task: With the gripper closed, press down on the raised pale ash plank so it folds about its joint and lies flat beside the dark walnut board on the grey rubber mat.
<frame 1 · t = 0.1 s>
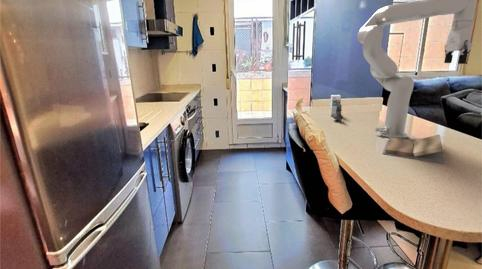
hand: (454, 63, 136), 37 cm above the breakfast bar, tool pointing down, fingers open, 9 cm apart
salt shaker: (337, 121, 179), on the breakfast bar
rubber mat: (412, 150, 125), on the breakfast bar
walnut board: (399, 148, 128), resting on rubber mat
syrup box: (334, 116, 195), on the breakfast bar
ash plank: (427, 145, 121), point 3 cm above the breakfast bar, hinge at 25.0°
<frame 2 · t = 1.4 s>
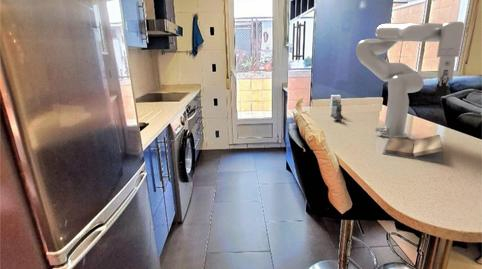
hand: (440, 94, 123), 24 cm above the breakfast bar, tool pointing down, fingers open, 9 cm apart
nothing on the breakfast bar moved.
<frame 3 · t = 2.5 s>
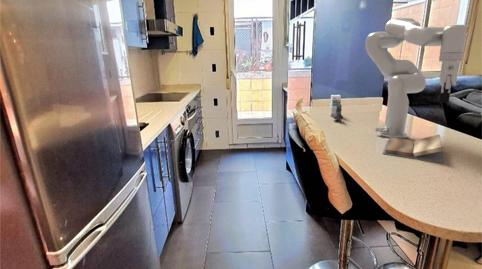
hand: (443, 102, 118), 22 cm above the breakfast bar, tool pointing down, fingers closed
nothing on the breakfast bar moved.
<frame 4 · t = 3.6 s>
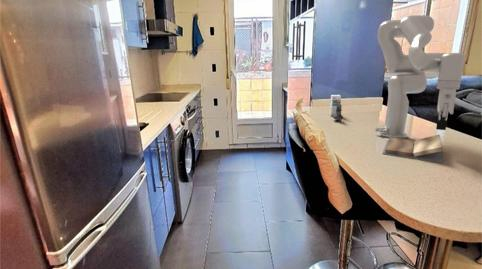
hand: (440, 129, 117), 11 cm above the breakfast bar, tool pointing down, fingers closed
nothing on the breakfast bar moved.
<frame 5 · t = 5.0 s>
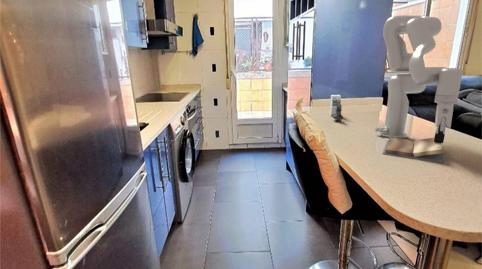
hand: (438, 142, 119), 5 cm above the breakfast bar, tool pointing down, fingers closed
ash plank: (427, 146, 121), point 3 cm above the breakfast bar, hinge at 19.4°, touching gripper
everything else where it was.
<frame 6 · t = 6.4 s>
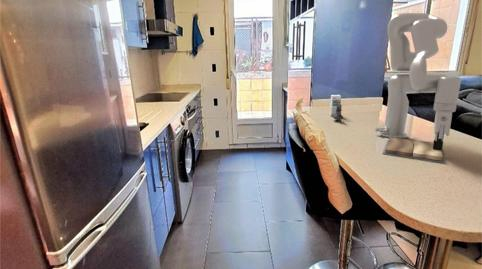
hand: (437, 149, 119), 2 cm above the breakfast bar, tool pointing down, fingers closed
ash plank: (427, 149, 122), point 1 cm above the breakfast bar, hinge at 1.5°, touching gripper
everything else where it was.
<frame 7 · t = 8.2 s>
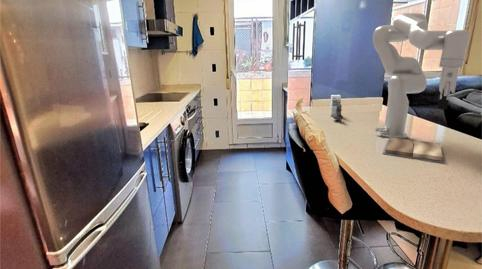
hand: (441, 108, 117), 20 cm above the breakfast bar, tool pointing down, fingers closed
ash plank: (427, 149, 122), point 1 cm above the breakfast bar, hinge at 1.4°
everything else where it was.
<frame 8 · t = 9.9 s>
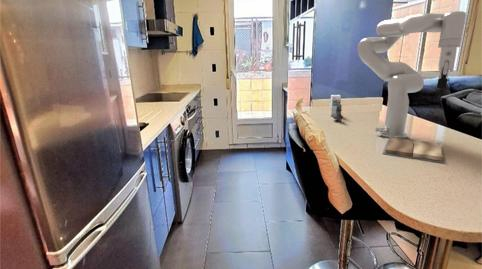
hand: (441, 88, 122), 27 cm above the breakfast bar, tool pointing down, fingers closed
nothing on the breakfast bar moved.
at the end: ash plank at +1° (first picture: +25°); the gripper is holding nothing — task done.
